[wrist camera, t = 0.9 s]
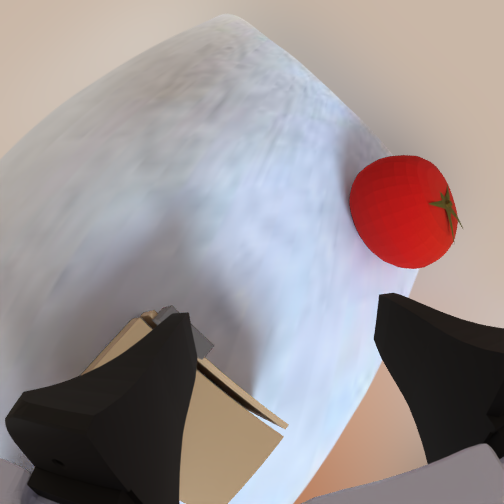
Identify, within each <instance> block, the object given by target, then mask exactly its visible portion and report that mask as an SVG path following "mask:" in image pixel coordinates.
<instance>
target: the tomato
mask: <svg viewBox="0 0 504 504" xmlns="http://www.w3.org/2000/svg"><path fill="white" fill-rule="evenodd" d="M349 204H350V209H351V214H352V218H353V221H354V224H355V227H356V229H357V231H358V233H359V235H360V237H361V238H362V240H363V241H364V243H365V244H366V246H367V247H368V248H369V249H370V250H371V251H372V252H373V253H374V254H375V255H377V256H378V257H379V258H380V259H382V260H383V261H385V262H387V263H390V264H392V265H395V266H397V267H401V268H411V269H416V268H422V267H425V266H427V265H429V264H431V263H433V262H435V261H436V260H438V259H440V258H441V257H442V256H443V255H444V254H445V253H446V252H447V251H448V249H449V248H450V246H451V244H452V243H453V241H454V239H455V234H456V230H457V224H458V222H459V223H460V221H459V219H458V217H457V211H456V207H455V203H454V200H453V197H452V194H451V191H450V188H449V186H448V184H447V182H446V180H445V178H444V177H443V175H442V173H440V171H439V170H438V168H437V167H436V166H435V165H434V164H432V163H431V162H429V161H427V160H425V159H423V158H420V157H418V156H405V155H401V156H390V157H385V158H382V159H378V160H377V161H375V162H373V163H371V164H370V165H368V166H366V167H365V168H364V169H363V170H362V171H361V172H360V173H359V174H358V175H357V177H356V178H355V180H354V182H353V184H352V188H351V193H350V201H349ZM460 225H461V223H460ZM461 227H462V226H461Z"/></svg>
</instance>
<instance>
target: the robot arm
mask: <svg viewBox="0 0 504 504" xmlns="http://www.w3.org/2000/svg"><path fill="white" fill-rule="evenodd" d="M374 341H375V343H376V346H377V349H378V351H379V354H380V356H381V358H382V360H383V362H384V364H385V365H386V367H387V369H388V371H389V372H390V374H391V376H392V377H393V379H394V381H395V382H396V384H397V386H398V387H399V389H400V391H401V392H402V394H403V396H404V398H405V400H406V402H407V404H408V406H409V408H410V410H411V413H412V416H413V418H414V421H415V423H416V426H417V429H418V432H419V435H420V438H421V441H422V444H423V447H424V451H425V455H426V459H427V463H428V465H425V466H423V467H420V468H417V469H414V470H411V471H409V472H406V473H402V474H399V475H396V476H393V477H390V478H386V479H383V480H379V481H376V482H372V483H368V484H364V485H360V486H356V487H352V488H347V489H344V490H340V491H336V492H333V493H329V494H326V495H322V496H318V497H314V498H312V499H310V500H308V501H306V502H304V503H301V504H504V329H503V328H496V327H491V326H486V325H481V324H477V323H473V322H470V321H466V320H462V319H459V318H456V317H454V316H451V315H448V314H445V313H443V312H440V311H438V310H435V309H433V308H431V307H428V306H426V305H424V304H421V303H419V302H416V301H414V300H412V299H410V298H407V297H405V296H402V295H399V294H396V293H388V294H381V295H379V301H378V310H377V319H376V326H375V334H374ZM196 370H197V352H196V347H195V342H194V338H193V333H192V328H191V323H190V317H189V313H172V314H171V315H170V316H168V317H167V318H166V319H165V320H163V321H162V322H161V323H160V324H159V325H158V326H156V327H155V328H154V329H153V330H152V331H150V332H149V333H148V334H147V335H146V336H145V337H143V338H142V339H141V340H139V341H138V342H137V343H135V344H134V345H133V346H131V347H130V348H129V349H127V350H126V351H125V352H123V353H122V354H120V355H119V356H117V357H116V358H114V359H112V360H111V361H109V362H107V363H105V364H104V365H102V366H100V367H98V368H96V369H94V370H91V371H89V372H87V373H85V374H83V375H81V376H78V377H76V378H73V379H71V380H68V381H65V382H62V383H59V384H56V385H52V386H49V387H44V388H40V389H36V390H31V391H26V392H23V393H22V395H21V396H20V398H19V399H18V401H17V402H16V403H15V405H14V406H13V408H12V409H11V411H10V412H9V414H8V415H7V417H6V418H5V423H6V427H7V430H8V432H9V434H10V436H11V437H12V439H13V440H14V442H15V443H16V444H17V446H18V447H19V448H20V449H21V450H22V452H23V453H24V454H25V455H26V457H27V458H28V459H29V460H30V461H31V462H32V464H33V465H34V466H35V469H34V471H33V473H32V474H31V473H30V472H29V471H27V470H26V469H24V468H22V467H20V466H18V465H16V464H13V463H11V462H9V461H7V460H5V459H2V458H0V504H179V486H180V464H181V451H182V440H183V432H184V426H185V421H186V417H187V413H188V409H189V405H190V400H191V396H192V392H193V388H194V383H195V379H196Z"/></svg>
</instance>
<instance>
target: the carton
mask: <svg viewBox="0 0 504 504" xmlns="http://www.w3.org/2000/svg"><path fill="white" fill-rule="evenodd" d="M150 331H152V329H151V328H150V327H149V326H148V325H147V324H146V323H145V322H144V321H143V320H142V319H141V318H133V319H132V320H131V321H130V322H129V323H128V324H127V325H126V326H125V327H124V328H123V329H122V330H121V331H120V332H119V334H118V335H117V336H116V337H115V338H114V339H113V340H112V341H111V342H110V343H109V344H108V346H107V347H106V348H105V349H104V350H103V351H102V352H101V353H100V354H99V355H98V356H97V358H96V359H95V360H94V361H93V362H92V363H91V364H90V365H89V366H88V368H87V369H86V370H85V371H84V372H83V373H82V374H81V375H83V374H85V373H87V372H89V371H91V370H94V369H96V368H98V367H100V366H102V365H104V364H105V363H107V362H109V361H111V360H112V359H114V358H116V357H117V356H119V355H120V354H122V353H123V352H125V351H126V350H127V349H129V348H130V347H131V346H133V345H134V344H135V343H137V342H138V341H139V340H141V339H142V338H143V337H145V336H146V335H147V334H148V333H149V332H150ZM81 375H80V376H81ZM283 437H284V436H282V435H281V434H279V433H278V432H276V431H275V430H274V429H272V428H271V427H269V426H268V425H266V424H265V423H264V422H262V421H261V420H260V419H258V418H257V417H255V416H254V415H253V414H251V413H250V412H249V411H247V410H246V409H245V408H243V407H242V406H241V405H239V404H238V403H237V402H236V401H234V400H233V399H232V398H230V397H229V396H228V395H227V394H225V393H224V392H223V391H222V390H220V389H219V388H218V387H217V386H215V385H214V384H213V383H212V382H211V381H209V380H208V379H207V378H206V377H205V376H203V375H202V374H201V373H200V372H199V371H198V370H196V379H195V383H194V388H193V392H192V396H191V400H190V405H189V409H188V413H187V417H186V421H185V426H184V432H183V440H182V451H181V464H180V486H179V500H180V501H182V502H184V503H186V504H228V503H229V501H230V500H231V499H232V498H233V497H234V496H235V495H236V494H237V493H238V492H239V491H240V489H241V488H242V487H243V486H244V485H245V484H246V483H247V481H248V480H249V479H250V478H251V477H252V476H253V474H254V473H255V472H256V471H257V470H258V469H259V467H260V466H261V465H262V464H263V463H264V461H265V460H266V459H267V458H268V456H269V455H270V454H271V453H272V451H273V450H274V449H275V448H276V446H277V445H278V444H279V442H280V441H281V440H282V438H283Z"/></svg>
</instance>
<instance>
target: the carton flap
mask: <svg viewBox="0 0 504 504" xmlns="http://www.w3.org/2000/svg"><path fill="white" fill-rule="evenodd" d="M172 313H179V312H178V311H177V310H176V309H175V308H174V307H173V306H169V307H165V308H163V309H162V310H161V311H160V312H159V313H157V312H156V311H155V310H153V311H149V312H144V313H143V314H142V315H141V316H140V317H141V318H142V319H143V320H144V321H145V322H146V323H147V324H148V325H150V326H151V327H152V328H153V329H154V328H155V327H156V326H158V325H159V324H160V323H161V322H162V321H163V320H165V319H166V318H167V317H168V316H170V315H171V314H172ZM191 328H192V333H193V338H194V342H195V347H196V352H197V369H198V370H199V371H200V372H201V373H202V374H204V375H205V376H206V377H207V378H208V379H210V380H211V381H212V382H213V383H214V384H216V385H217V386H218V387H219V388H221V389H222V390H223V391H224V392H226V393H227V394H228V395H229V396H231V397H232V398H233V399H234V400H236V401H237V402H238V403H240V404H241V405H242V406H243V407H245V408H246V409H247V410H249V411H251V412H252V413H254V414H256V415H258V416H260V417H262V418H264V419H266V420H268V421H270V422H272V423H274V424H276V425H278V426H280V427H282V428H284V429H286V428H287V426H288V424H287V423H286V422H284V421H283V420H281V419H280V418H279V417H277V416H276V415H275V414H273V413H272V412H271V411H269V410H268V409H267V408H265V407H264V406H263V405H262V404H260V403H259V402H258V401H256V400H255V399H254V398H253V397H251V396H250V395H249V394H248V393H246V392H245V391H244V390H243V389H241V388H240V387H239V386H238V385H237V384H235V383H234V382H233V381H232V380H230V379H229V378H228V377H227V376H226V375H225V374H223V373H222V372H221V371H220V370H219V369H217V368H216V367H215V366H214V365H213V364H212V363H211V362H209V361H208V360H207V359H206V358H205V356H206V355H207V354H208V352H209V351H210V350H211V349H212V348H213V347H214V345H213V344H212V343H211V342H210V341H209V340H208V339H207V338H206V337H204V336H203V335H202V334H201V333H200V332H199V331H198V330H197V329H196V328H195V327H194V326H193V325H192V324H191Z"/></svg>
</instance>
